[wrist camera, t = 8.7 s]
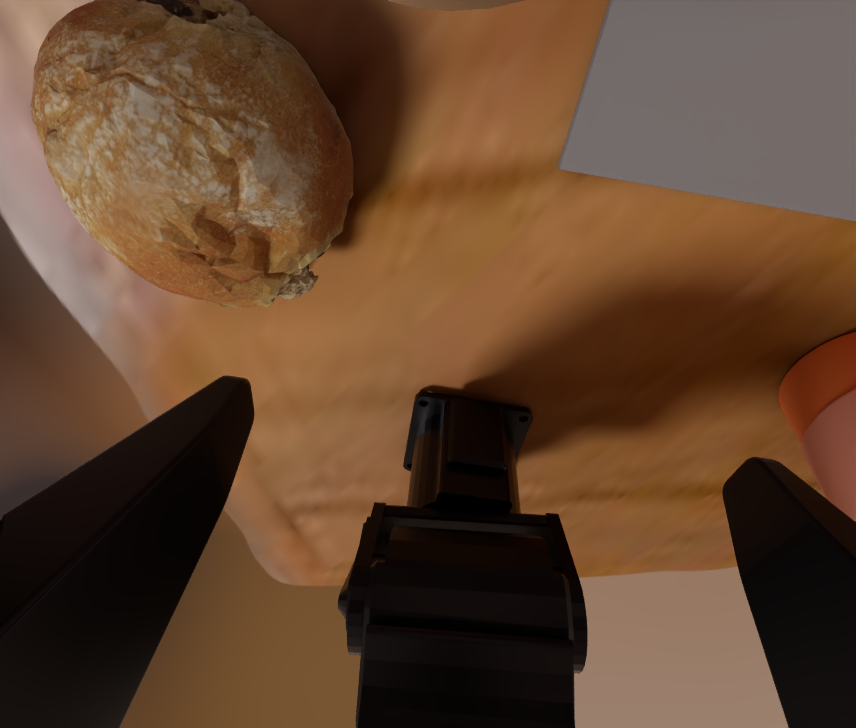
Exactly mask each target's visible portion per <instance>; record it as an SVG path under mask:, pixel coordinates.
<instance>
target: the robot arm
mask: <svg viewBox="0 0 856 728" xmlns="http://www.w3.org/2000/svg"><path fill="white" fill-rule="evenodd" d="M421 400H425V401H426V402H423V401H421ZM520 416H525V417H520ZM532 419H533V416H532V412H531V410H530V409H529V408H526V407H520V406H513V405H507V404H500V403H494V402H488V401H481V400H475V399H468V398H462V397H455V396H449V395H442V394H436V393H430V392H420V393H418V394H416V396H415V401H414V406H413V412H412V418H411V423H410V429H409V435H408V440H407V446H406V452H405V457H404V464H403V466H404V468H405V469H406V470H408V471H411V477H410V485H409V493H408V502H407V506H395V505H386V503H377V502H375V503H374V506H373V510H372V513H371V517H367V520H366V522H365V523H364V524H363V529H362V534H361V539H360V544H359V548H358V551H357V555H356V558H355V561H354V563H353V565H352V567H351V570H350V572H349V574H348V576H347V578H346V581H345V583H344V585H343V587H342V589H341V592H340V595H339V599H338V609H339V610H340V612H341V613H342V615H343V616H344V618H345V619H346V631H347V646H348V652H349V654H350V655H360V656H361V660H360V673H359V686H358V699H357V711H356V712H357V713H356V728H575V720H574V673H580V672H582V670H583V668H584V666H585V661H586V656H587V617H586V609H585V602H584V596H583V591H582V587H581V584H580V580H579V577H578V574H577V571H576V568H575V565H574V562H573V558H572V555H571V552H570V549H569V546H568V543H567V540H566V537H565V534H564V530H563V527H562V524H561V521H560V518H559V515H558V514H552V513H546V515H537V514H521V511H520V501H519V491H518V481H517V471H516V457H517V455H518V453H519V450H520V448H521V446H522V443H523V441H524V439H525V436H526V434H527V432H528V429H529V427H530V425H531V422H532ZM253 421H254V405H253V398H252V392H251V385H250V382H249V381H248V380H247V379H245V378H240V377H234V376H222V377H220V378H218V379H217V380H215V381H214V382H212V383H211V384H209V385H207V386H206V387H204V388H203V389H201V390H200V391H198V392H196V393H195V394H193V395H192V396H190V397H188V398H187V399H185V400H184V401H182V402H181V403H179V404H177V405H176V406H174V407H173V408H171V409H170V410H168V411H166V412H165V413H163V414H162V415H160V416H159V417H157V418H155V419H154V420H152V421H151V422H149V423H147V424H146V425H145V426H143V427H141V428H140V429H138V430H137V431H135V432H133V433H132V434H130V435H129V436H127V437H126V438H124V439H122V440H121V441H119V442H118V443H116V444H114V445H113V446H111V447H110V448H108V449H106V450H105V451H103V452H102V453H100V454H99V455H97V456H96V457H94V458H92V459H91V460H89V461H88V462H86V463H85V464H83V465H81V466H80V467H78V468H77V469H75V470H73V471H72V472H70V473H69V474H67V475H65V476H64V477H63V478H61V479H59V480H58V481H56V482H55V483H53V484H51V485H50V486H48V487H47V488H45V489H43V490H42V491H40V492H39V493H37V494H36V495H34V496H32V497H31V498H29V499H28V500H26V501H25V502H23V503H21V504H20V505H18V506H17V507H15V508H13V509H12V510H10V511H9V512H7V513H6V514H4V515H3V517H2V520H0V728H119V727H120V725H121V723H122V721H123V719H124V717H125V715H126V713H127V710H128V708H129V706H130V703H131V702H132V700H133V698H134V696H135V694H136V692H137V689H138V687H139V685H140V683H141V681H142V679H143V677H144V675H145V673H146V670H147V668H148V666H149V664H150V662H151V660H152V658H153V656H154V654H155V651H156V649H157V647H158V645H159V643H160V641H161V639H162V637H163V634H164V632H165V630H166V628H167V626H168V624H169V622H170V619H171V618H172V616H173V614H174V611H175V609H176V607H177V605H178V603H179V601H180V599H181V596H182V595H183V592H184V590H185V588H186V586H187V584H188V582H189V580H190V578H191V576H192V573H193V571H194V569H195V567H196V565H197V563H198V561H199V559H200V557H201V555H202V552H203V550H204V548H205V546H206V544H207V542H208V540H209V538H210V536H211V533H212V531H213V529H214V527H215V525H216V523H217V521H218V518H219V517H220V514H221V512H222V510H223V508H224V505H225V503H226V501H227V498H228V495H229V492H230V490H231V487H232V484H233V481H234V478H235V475H236V472H237V469H238V466H239V463H240V460H241V457H242V454H243V451H244V448H245V445H246V442H247V440H248V437H249V434H250V431H251V428H252V425H253ZM723 500H724V504H725V509H726V514H727V518H728V523H729V528H730V532H731V537H732V542H733V546H734V551H735V556H736V560H737V565H738V569H739V573H740V577H741V580H742V584H743V587H744V590H745V593H746V597H747V600H748V603H749V606H750V609H751V612H752V615H753V618H754V621H755V624H756V628H757V631H758V633H759V637H760V640H761V643H762V646H763V649H764V652H765V656H766V659H767V662H768V665H769V668H770V671H771V674H772V677H773V680H774V684H775V687H776V690H777V693H778V696H779V699H780V702H781V705H782V708H783V711H784V714H785V718H786V721H787V724H788V727H789V728H856V522H855V521H854V520H853V519H851V518H850V517H849V516H847V515H846V514H845V513H844V512H842V511H841V510H840V509H839V508H837V507H836V506H835V505H833V504H832V503H831V502H830V501H828V500H827V499H826V498H825V497H823V496H822V495H821V494H819V493H818V492H817V491H816V490H814V489H813V488H812V487H811V486H809V485H808V484H807V483H805V482H804V481H803V480H802V479H800V478H799V477H798V476H797V475H795V474H794V473H793V472H791V471H790V470H789V469H788V468H786V467H785V466H784V465H783V464H781V463H780V462H778V461H775V460H772V459H765V458H759V457H752V458H749V459H747V460H746V461H745V462H744V463H743V464H742V465H741V466H740V467H739V468H738V469H737V470H736V471H735V472H734V473H733V475H732V476H731V477H730V478H729V479H728V480H727V481H726V482H725V484H724V486H723Z"/></svg>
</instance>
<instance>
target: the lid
mask: <svg viewBox="0 0 856 728" xmlns="http://www.w3.org/2000/svg"><path fill="white" fill-rule="evenodd" d="M387 1H391V2H394V3H398V4H402V5H405V6H409V7H417V8H427V9H436V10H446V11H455V10H471V9H486V8H493V7H497V6H502V5H506V4H510V3H515V2H519V1H523V0H387Z"/></svg>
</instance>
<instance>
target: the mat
mask: <svg viewBox="0 0 856 728" xmlns="http://www.w3.org/2000/svg"><path fill="white" fill-rule="evenodd" d="M558 167H559V169H561V170H567V171H573V172H578V173H584V174H590V175H595V176H601V177H607V178H612V179H618V180H624V181H629V182H635V183H641V184H646V185H652V186H658V187H664V188H669V189H675V190H681V191H686V192H692V193H698V194H703V195H709V196H715V197H720V198H726V199H732V200H737V201H743V202H749V203H754V204H760V205H766V206H772V207H777V208H783V209H789V210H794V211H800V212H806V213H811V214H817V215H823V216H828V217H834V218H840V219H845V220H851V221H856V0H610V2H609V5H608V8H607V11H606V14H605V17H604V21H603V24H602V27H601V30H600V33H599V36H598V40H597V43H596V46H595V49H594V52H593V56H592V59H591V62H590V65H589V68H588V71H587V75H586V78H585V81H584V84H583V87H582V90H581V94H580V97H579V100H578V103H577V106H576V110H575V113H574V116H573V119H572V122H571V125H570V129H569V132H568V135H567V138H566V141H565V144H564V148H563V151H562V154H561V157H560V160H559V164H558Z"/></svg>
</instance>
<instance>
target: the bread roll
mask: <svg viewBox="0 0 856 728" xmlns="http://www.w3.org/2000/svg"><path fill="white" fill-rule="evenodd" d="M197 2H198V4H192V3H185V2H181V1H179V0H147V1H145V0H95V1H93V2H90V3H88V4H85V5H83V6H81V7H78V8H76V9H74V10H72V11H71V12H69V13H68V14H67V15H66V16H64V17H63V18H62V19H61V20H59V21H58V22H57V23H56V24H55V25H54V26H53V28H52V29H51V30H50V31H49V33H48V34H47V36H46V38H45V40H44V41H43V43H42V45H41V47H40V49H39V53H38V58H37V61H36V64H35V68H34V81H33V94H32V103H31V107H32V110H31V112H32V120H33V122H34V124H35V127H36V130H37V134H38V136H39V139H40V141H41V143H42V148H43V151H44V156H45V159H46V162H47V165H48V168H49V170H50V172H51V174H52V176H53V178H54V180H55V182H56V184H57V186H58V189H59V191H60V193H61V195H62V197H63V198H64V200H65V201H66V202H67V204H68V206H69V207H70V209H71V211H72V213H73V215H74V216H75V218H76V219H77V220H78V222H79V223H80V224H81V225H82V227H83V228H84V229H85V230H86V231H87V232H88V233H89V235H90V236H91V237H92V238H94V239H95V240H96V241H97V242H98V243H99V244H100V245H101V246H102V247H103V248H104V249H105V250H107V251H108V252H109V253H111V254H112V255H113V256H115V257H116V258H117V259H119V260H120V261H121V262H123V263H124V264H125V265H127V266H128V267H129V268H130V269H131V270H133V271H134V272H135V273H136V274H138V275H139V276H141V277H142V278H144V279H145V280H147V281H148V282H150V283H152V284H154V285H156V286H157V287H159V288H162V289H164V290H167V291H169V292H172V293H175V294H179V295H183V296H187V297H191V298H195V299H200V300H206V301H212V302H215V303H218V304H219V305H221V306H222V307H224V308H226V309H232V308H235V307H253V306H264V307H268V306H271V305H272V303H273V301H274V299H275V297H277V296H278V295H279V296H281V297H283V298H285V299H287V300H288V299H292V298H296V297H300V296H301V295H302V294H303V293H305V292H307V291H310V290H311V289H312V288H313V286H314V283H315V282H316V281H317V279H318V276H314V274H313V272H312V271H310V272H309V268H308V264H310V263H311V262H313V261H314V260H315V259H316V258H318V257H320V256H322V255H323V254H324V253H325V250H326V249H328V248H329V247H330V246H331V242H332V240H333V239H334V238H335V237H336V236H337V235H339V234H340V233H341V232H342V231H343V225H344V219H345V217H346V214H347V207H348V203H349V200H350V199H351V198H352V196H353V194H354V192H353V157H352V151H351V143H350V140H349V138H348V137H347V135H346V133H345V130H344V128H343V125H342V123H341V121H340V119H339V117H338V116H337V113H336V109H335V106H333V105H332V104H331V103H330V101H329V100H328V98H327V97H326V95H325V93H324V92H323V90H322V89H321V87H320V85H319V83H318V81H317V79H316V77H315V75H314V74H313V72H312V71H311V69H310V67H309V66H308V64H307V63H306V62H305V60H304V59H303V58H302V56H301V55H300V54H299V53H298V51H297V50H296V49H295V47H294V46H293V45H292V44H290V43H289V42H288V41H286V40H285V39H283V38H282V37H280V36H279V35H277V34H276V33H275V32H273V31H272V30H271V29H270V28H269V27H267V26H266V25H265V24H264V23H263V22H262V21H261V20H260V19H258V18H257V17H256V16H255V15H252V16H250V12H249V10H248V8H247V7H246V6H245V5H244V4H243V3H241V2H239V1H236V0H197Z"/></svg>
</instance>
